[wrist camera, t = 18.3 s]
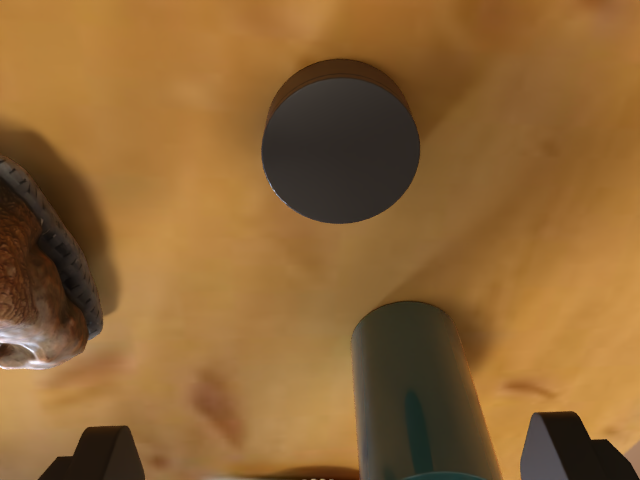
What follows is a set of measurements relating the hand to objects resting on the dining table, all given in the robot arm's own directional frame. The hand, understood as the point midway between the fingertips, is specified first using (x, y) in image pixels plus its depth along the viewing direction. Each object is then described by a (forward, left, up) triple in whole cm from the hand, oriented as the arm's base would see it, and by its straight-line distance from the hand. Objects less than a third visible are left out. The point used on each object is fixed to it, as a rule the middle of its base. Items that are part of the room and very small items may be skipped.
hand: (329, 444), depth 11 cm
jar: (-11, -9, -17) cm, 22 cm away
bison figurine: (-10, +12, -17) cm, 23 cm away
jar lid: (0, -1, -15) cm, 15 cm away
